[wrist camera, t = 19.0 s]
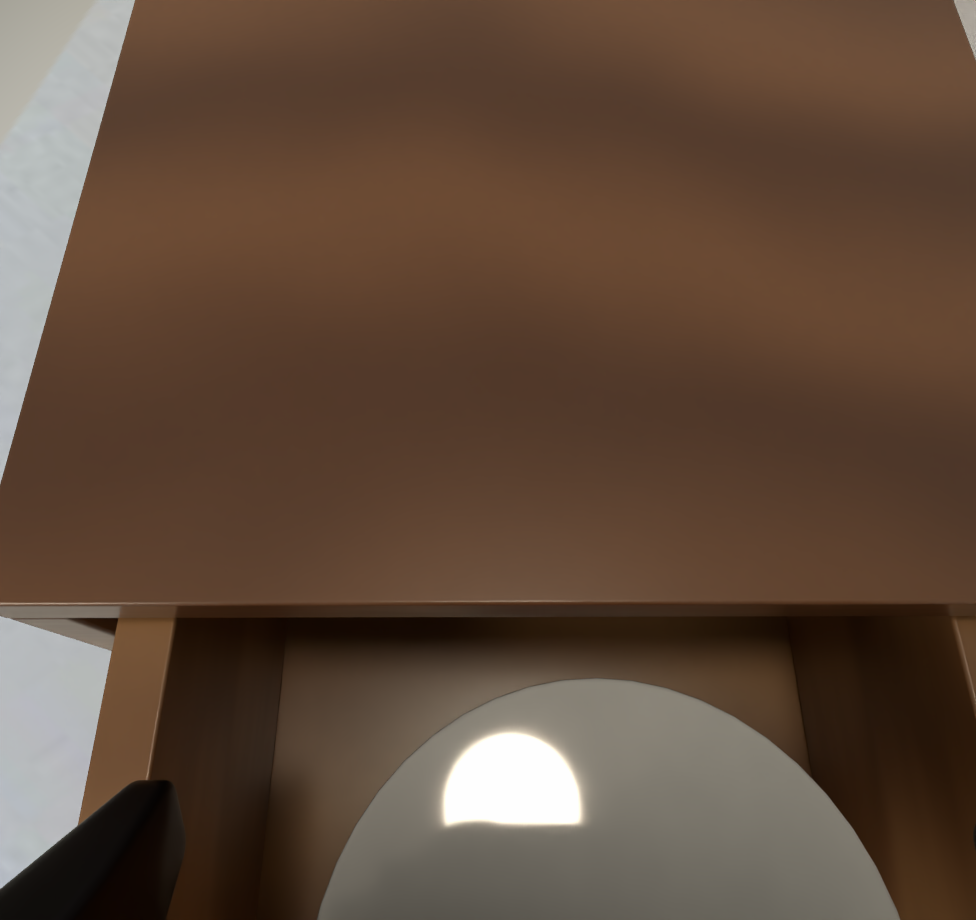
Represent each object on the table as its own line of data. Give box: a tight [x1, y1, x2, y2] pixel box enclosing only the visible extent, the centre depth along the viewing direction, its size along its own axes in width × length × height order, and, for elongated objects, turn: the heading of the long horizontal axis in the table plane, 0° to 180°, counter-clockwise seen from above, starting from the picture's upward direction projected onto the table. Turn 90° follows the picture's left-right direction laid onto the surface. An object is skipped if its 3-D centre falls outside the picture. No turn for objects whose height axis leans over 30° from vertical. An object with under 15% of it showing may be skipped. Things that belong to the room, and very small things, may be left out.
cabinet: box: [0, 0, 976, 651], centre depth 16 cm, size 16×15×9 cm
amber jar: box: [317, 678, 900, 920], centre depth 10 cm, size 5×5×8 cm
